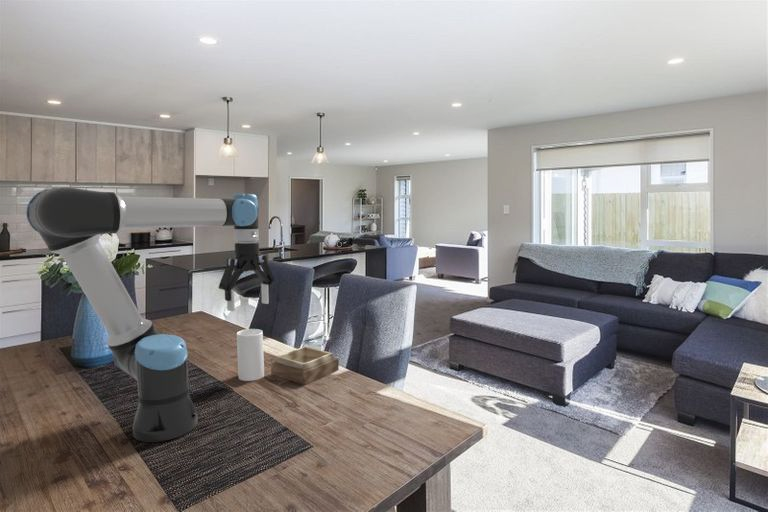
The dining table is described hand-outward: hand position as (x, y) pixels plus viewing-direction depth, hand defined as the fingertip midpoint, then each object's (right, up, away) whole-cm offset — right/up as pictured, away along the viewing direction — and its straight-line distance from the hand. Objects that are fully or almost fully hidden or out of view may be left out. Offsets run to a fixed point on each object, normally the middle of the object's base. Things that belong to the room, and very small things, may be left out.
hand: (248, 307), depth 146 cm
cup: (0, -25, +3) cm, 25 cm away
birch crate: (+18, -23, +6) cm, 29 cm away
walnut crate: (+18, -24, +6) cm, 30 cm away
